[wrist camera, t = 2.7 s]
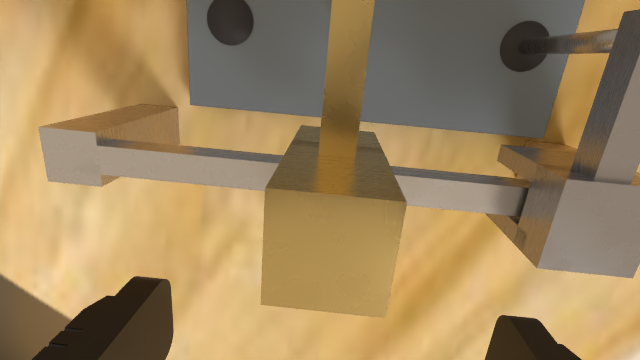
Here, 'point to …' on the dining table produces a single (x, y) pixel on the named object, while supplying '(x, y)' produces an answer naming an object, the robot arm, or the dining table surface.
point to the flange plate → (386, 60)
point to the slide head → (334, 194)
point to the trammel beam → (430, 185)
